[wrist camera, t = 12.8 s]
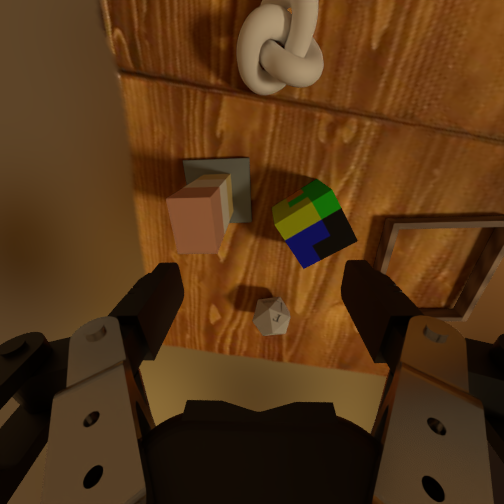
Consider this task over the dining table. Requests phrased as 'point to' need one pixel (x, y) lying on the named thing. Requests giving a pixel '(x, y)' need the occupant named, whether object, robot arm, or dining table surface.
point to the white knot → (273, 55)
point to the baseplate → (239, 181)
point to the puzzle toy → (313, 223)
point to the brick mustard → (228, 184)
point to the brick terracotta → (196, 220)
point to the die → (271, 316)
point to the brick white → (223, 195)
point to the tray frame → (495, 249)
